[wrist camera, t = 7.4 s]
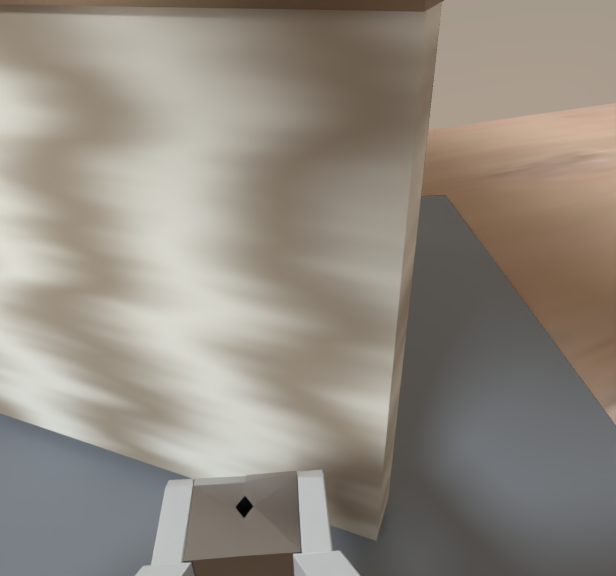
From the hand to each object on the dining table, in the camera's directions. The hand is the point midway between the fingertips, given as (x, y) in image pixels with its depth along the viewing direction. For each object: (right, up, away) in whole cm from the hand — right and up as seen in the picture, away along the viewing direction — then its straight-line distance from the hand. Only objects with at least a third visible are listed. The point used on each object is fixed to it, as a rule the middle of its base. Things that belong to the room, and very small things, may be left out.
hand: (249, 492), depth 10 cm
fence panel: (-5, -2, +10) cm, 11 cm away
